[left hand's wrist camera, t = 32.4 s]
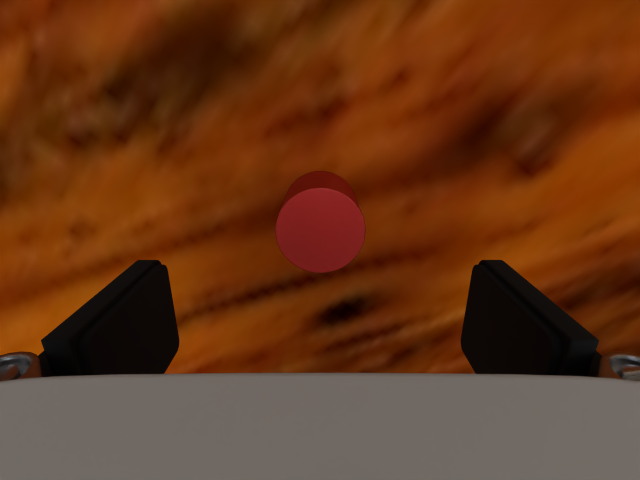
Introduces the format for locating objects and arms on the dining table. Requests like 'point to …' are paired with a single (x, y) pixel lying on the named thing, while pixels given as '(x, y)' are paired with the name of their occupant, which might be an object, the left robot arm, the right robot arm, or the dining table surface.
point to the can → (320, 223)
